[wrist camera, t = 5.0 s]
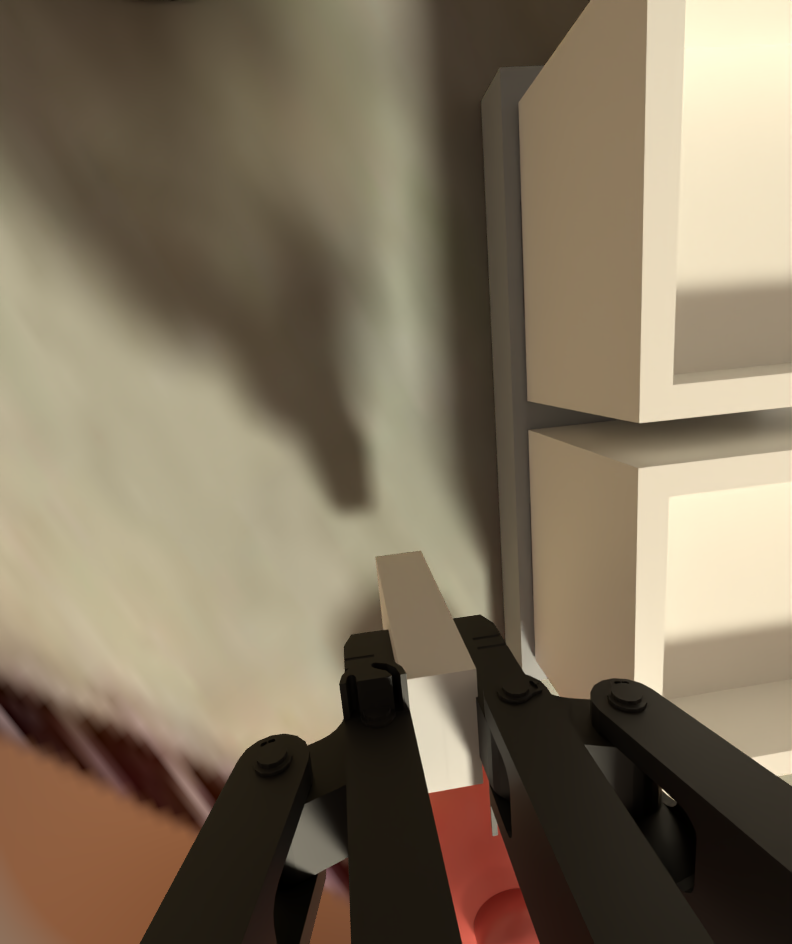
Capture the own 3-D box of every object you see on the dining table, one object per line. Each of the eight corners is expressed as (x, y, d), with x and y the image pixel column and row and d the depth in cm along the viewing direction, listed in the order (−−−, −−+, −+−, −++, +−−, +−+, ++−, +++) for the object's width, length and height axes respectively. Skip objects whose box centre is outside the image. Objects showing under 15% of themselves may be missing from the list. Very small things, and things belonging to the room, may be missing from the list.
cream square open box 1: (527, 401, 17) (639, 423, 11) (518, 102, 15) (649, -83, 9) (768, 376, 18) (1002, 383, 12) (790, 90, 16) (1086, -86, 10)
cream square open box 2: (535, 659, 19) (631, 803, 13) (528, 429, 17) (638, 468, 11) (749, 626, 20) (937, 746, 14) (766, 403, 18) (994, 425, 12)
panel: (510, 752, 23) (536, 809, 20) (480, 101, 17) (511, 46, 14) (811, 700, 24) (876, 746, 21) (878, 84, 18) (981, 31, 15)
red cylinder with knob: (408, 807, 23) (451, 1045, 15) (397, 715, 22) (436, 918, 14) (510, 786, 23) (605, 1005, 15) (504, 695, 22) (602, 880, 14)
